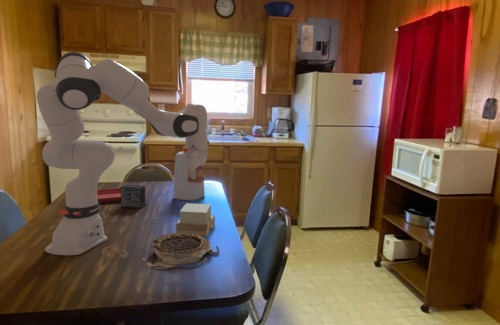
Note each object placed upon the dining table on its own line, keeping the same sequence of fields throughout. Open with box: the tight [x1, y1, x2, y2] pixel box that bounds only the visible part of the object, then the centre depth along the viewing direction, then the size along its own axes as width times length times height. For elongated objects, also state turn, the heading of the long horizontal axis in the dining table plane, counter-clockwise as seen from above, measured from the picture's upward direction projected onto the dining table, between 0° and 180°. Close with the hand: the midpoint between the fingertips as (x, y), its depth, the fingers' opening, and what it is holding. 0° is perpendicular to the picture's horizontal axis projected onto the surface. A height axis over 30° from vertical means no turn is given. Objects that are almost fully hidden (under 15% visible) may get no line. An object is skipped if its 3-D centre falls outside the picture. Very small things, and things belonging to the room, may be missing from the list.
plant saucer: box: [97, 188, 121, 204], centre depth 196 cm, size 18×18×3 cm
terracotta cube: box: [188, 166, 205, 183], centre depth 151 cm, size 6×6×6 cm
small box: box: [120, 184, 146, 209], centre depth 183 cm, size 11×6×10 cm, turn 84°
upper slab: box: [179, 202, 212, 224], centre depth 154 cm, size 11×11×5 cm
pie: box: [141, 232, 220, 270], centre depth 133 cm, size 28×27×5 cm
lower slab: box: [175, 214, 216, 237], centre depth 155 cm, size 13×13×5 cm
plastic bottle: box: [172, 146, 205, 202], centre depth 199 cm, size 15×15×28 cm
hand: (196, 176), depth 151 cm, fingers closed on terracotta cube, 5 cm apart
